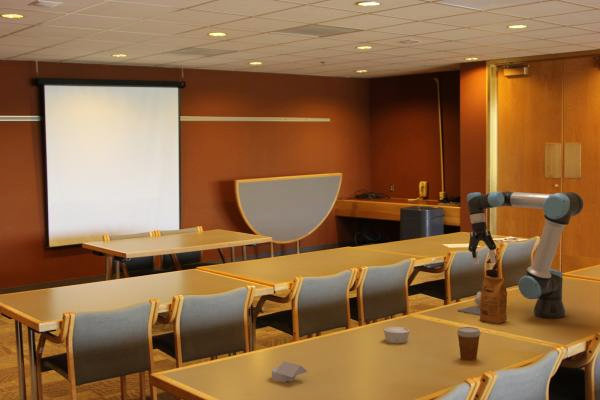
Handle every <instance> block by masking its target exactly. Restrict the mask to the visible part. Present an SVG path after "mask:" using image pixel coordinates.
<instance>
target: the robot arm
mask: <svg viewBox="0 0 600 400" xmlns="http://www.w3.org/2000/svg"><path fill="white" fill-rule="evenodd" d="M466 201H467V203H466V204H467V207H468V212H469V218H470V223H471V225H470V226H471V231H472V232H469V243H468V251H469V252H470V253H471V255H472V258H473V264H474V265H475V266H476V265H480V260H479V254H478V251H477V249H478V245H479V243H480V241H482V242H483V243H484V244H485V245H486V247H487V248H488V249H489V250H488V254H489V260H490V263H491V264H493V263H496V262H497V260H496V253H495V250H497V248H498V247H497V245H496V243H495V240H494V239H493V237H492V234H491V230H488V231H486V230H487V229H488V227H487V222H486V215H485V210H487V209H493V208H501V207H511V208H513V207H514V208H515V207H516V208H525V209H526V208H527V209H540V210H543V214H544V215H543V219H544V220H545V223H544V227H543V230H542V233H541V236H540V238H539V242H538V245H537V248H536V251H535V254H534V257H533V261H532V264H531V266H529V267H527V268H526V272H525V275H524V276H522V277H520V278H519V280H518V290H519V292H520V294H521V295H522V297H524V298H525V299H528V300H536V303H535V306H534V309H533V314H534V316H536V317H539V318H547V319H561V318H564V317H566V308H565V306H564V302H563V272H562V271H561V270H558V269H553V268H552V263H553V262H554V259H555V255H556V253H557V249H558V246H559V243H560V241H561V237H562V235H563V231H564V228H565V227H566V226H568V225H569V224H570V221H571V217H575V216H577V215H579V214H580V213H581V212H582V210H584V204H585V203H584V200H583V197H582V196H581V195H580V194H579V193H576V192H573V191H569V192H568V191H567V192H557V193H552V194H551V193H535V192H534V193H533V192H521V191H520V192H518V191H511V190H508V191H507V190H505V191H492V192H490V193H485V194H482V193H481V192H480V191H479V192H470V193H468V194H467V195H466ZM551 268H552V269H551Z"/></svg>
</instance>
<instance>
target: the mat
mask: <svg viewBox="0 0 600 400" xmlns="http://www.w3.org/2000/svg"><path fill="white" fill-rule="evenodd" d="M457 312H461V313H466V314H471V315H476V316H480V307H478V306H468V307H465V308H460V309H457Z"/></svg>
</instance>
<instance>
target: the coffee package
mask: <svg viewBox="0 0 600 400" xmlns="http://www.w3.org/2000/svg"><path fill="white" fill-rule="evenodd" d="M505 281H506V279H505V277H491V276H489V275H484V278H483V281H482V287H481V291H480V292H481V299H480V307H479V308H480V315H479V321H480V322H487V323H489V324H495V325H496V324H497V325H500V324H501V323H503V322H507V318H508V317H507V314H508V313H507V304H508V291H507V287H506V283H505Z"/></svg>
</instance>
